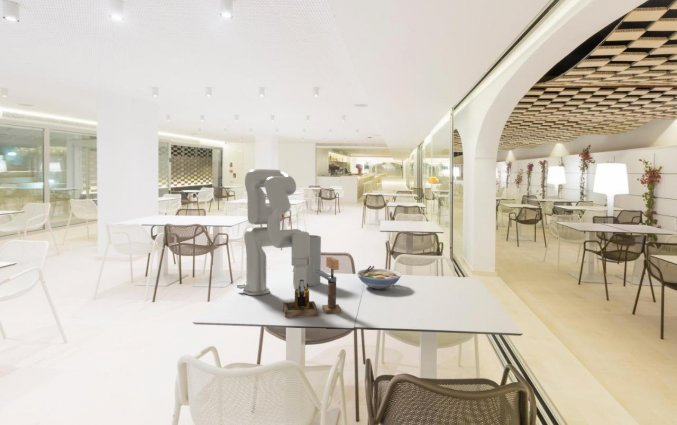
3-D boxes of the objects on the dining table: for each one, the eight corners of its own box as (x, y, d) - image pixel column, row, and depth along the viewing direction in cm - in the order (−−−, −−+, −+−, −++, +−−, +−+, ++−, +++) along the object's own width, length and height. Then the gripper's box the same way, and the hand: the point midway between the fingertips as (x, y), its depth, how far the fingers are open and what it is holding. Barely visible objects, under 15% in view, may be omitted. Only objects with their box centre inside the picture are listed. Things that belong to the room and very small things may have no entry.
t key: (312, 273, 198) (312, 251, 197) (319, 272, 199) (320, 251, 199) (332, 284, 179) (332, 260, 178) (340, 283, 180) (340, 260, 179)
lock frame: (284, 317, 174) (285, 287, 173) (283, 308, 186) (283, 280, 185) (342, 314, 179) (343, 285, 178) (337, 305, 191) (337, 278, 190)
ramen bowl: (395, 296, 208) (396, 279, 207) (350, 291, 215) (350, 275, 214) (404, 283, 231) (405, 268, 230) (363, 279, 238) (364, 265, 238)
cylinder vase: (324, 282, 230) (325, 236, 228) (311, 288, 220) (311, 239, 217) (306, 279, 237) (306, 234, 235) (291, 284, 226) (292, 237, 224)
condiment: (306, 315, 177) (306, 286, 176) (287, 312, 179) (287, 284, 178) (312, 309, 184) (312, 282, 183) (294, 307, 186) (294, 280, 185)
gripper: (289, 257, 187) (289, 298, 189) (293, 265, 170) (293, 310, 172) (307, 257, 188) (307, 297, 190) (312, 265, 172) (311, 309, 173)
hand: (300, 303), depth 181 cm, fingers closed on condiment, 6 cm apart
